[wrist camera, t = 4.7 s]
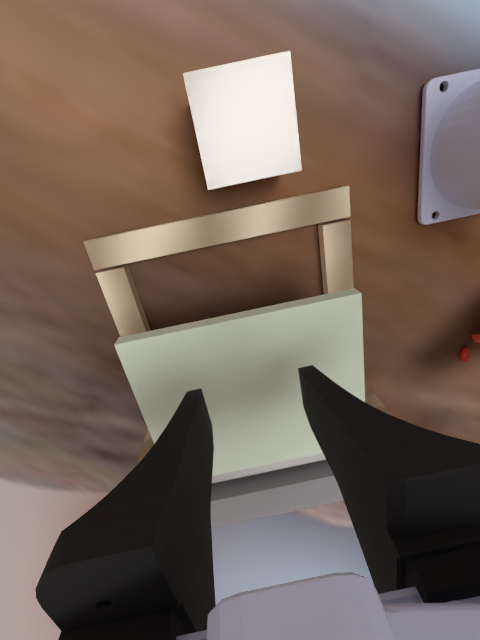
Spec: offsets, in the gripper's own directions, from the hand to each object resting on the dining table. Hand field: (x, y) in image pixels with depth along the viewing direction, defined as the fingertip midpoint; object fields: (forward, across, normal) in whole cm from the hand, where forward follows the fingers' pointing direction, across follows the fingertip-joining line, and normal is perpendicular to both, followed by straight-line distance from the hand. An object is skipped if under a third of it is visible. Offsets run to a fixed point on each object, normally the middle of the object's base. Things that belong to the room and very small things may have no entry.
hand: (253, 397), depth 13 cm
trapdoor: (+4, 0, +4) cm, 6 cm away
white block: (+10, -2, -10) cm, 15 cm away
